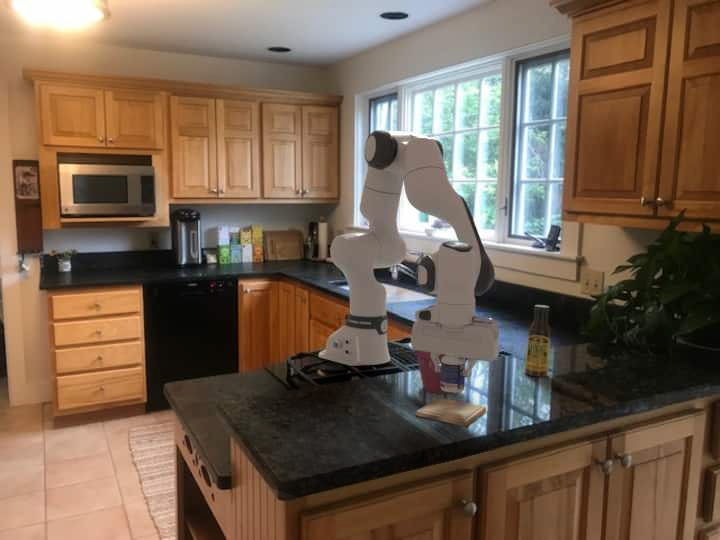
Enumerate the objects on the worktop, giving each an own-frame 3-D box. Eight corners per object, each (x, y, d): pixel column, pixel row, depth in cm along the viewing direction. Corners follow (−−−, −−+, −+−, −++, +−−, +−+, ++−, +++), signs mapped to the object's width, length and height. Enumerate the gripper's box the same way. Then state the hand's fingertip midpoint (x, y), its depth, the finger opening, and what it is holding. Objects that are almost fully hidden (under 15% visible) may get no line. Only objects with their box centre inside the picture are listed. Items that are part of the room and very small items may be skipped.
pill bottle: (464, 394, 134) (465, 351, 133) (439, 392, 135) (441, 349, 134) (464, 387, 139) (466, 345, 138) (441, 385, 140) (442, 344, 139)
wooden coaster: (416, 415, 136) (416, 410, 135) (438, 401, 146) (438, 396, 146) (466, 426, 129) (466, 421, 129) (485, 411, 139) (486, 406, 139)
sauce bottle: (523, 376, 169) (526, 306, 167) (526, 370, 175) (529, 303, 173) (547, 379, 167) (551, 308, 165) (549, 373, 173) (553, 305, 170)
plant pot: (436, 377, 166) (437, 332, 165) (479, 389, 156) (481, 340, 155) (402, 387, 156) (403, 339, 155) (445, 400, 146) (447, 349, 145)
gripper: (504, 317, 132) (501, 378, 134) (420, 307, 143) (419, 364, 145) (494, 321, 127) (492, 385, 128) (408, 311, 138) (407, 370, 139)
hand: (452, 374), depth 137 cm, fingers closed on pill bottle, 5 cm apart
